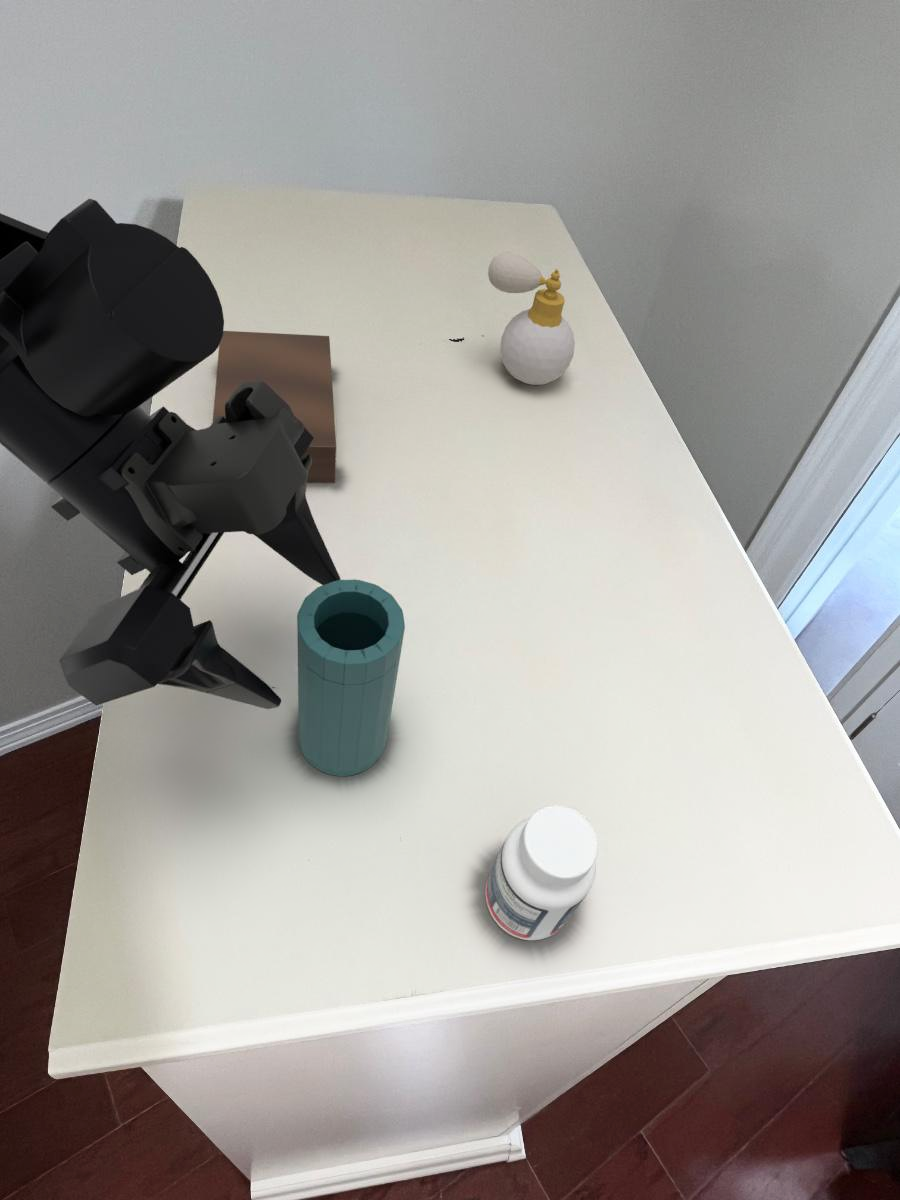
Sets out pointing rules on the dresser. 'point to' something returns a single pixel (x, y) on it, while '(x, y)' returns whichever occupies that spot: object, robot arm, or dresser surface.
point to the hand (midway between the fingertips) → (307, 641)
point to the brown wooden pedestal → (285, 384)
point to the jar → (347, 674)
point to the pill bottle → (542, 873)
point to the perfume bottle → (533, 322)
